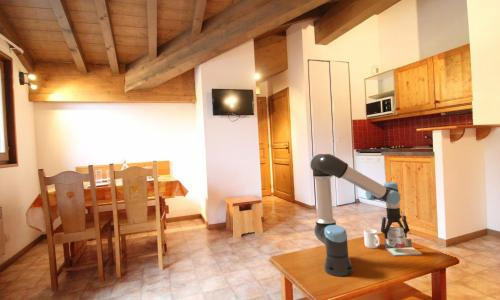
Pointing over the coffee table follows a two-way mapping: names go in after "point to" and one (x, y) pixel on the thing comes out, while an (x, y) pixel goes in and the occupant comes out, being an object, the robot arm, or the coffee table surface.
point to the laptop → (403, 249)
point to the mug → (371, 238)
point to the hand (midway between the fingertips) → (396, 243)
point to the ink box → (396, 236)
